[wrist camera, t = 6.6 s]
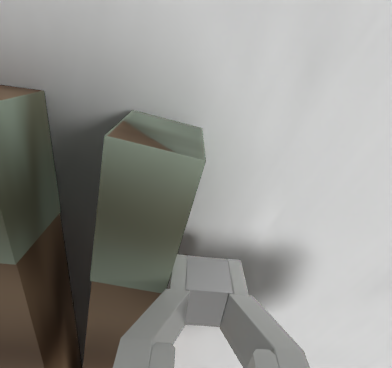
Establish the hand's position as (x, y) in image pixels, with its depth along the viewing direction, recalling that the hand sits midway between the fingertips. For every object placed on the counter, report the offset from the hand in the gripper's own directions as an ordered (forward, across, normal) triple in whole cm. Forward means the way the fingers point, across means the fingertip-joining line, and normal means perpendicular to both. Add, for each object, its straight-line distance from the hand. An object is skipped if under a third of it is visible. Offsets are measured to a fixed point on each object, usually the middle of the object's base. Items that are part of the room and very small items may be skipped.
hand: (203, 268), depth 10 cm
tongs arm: (+2, +3, +5) cm, 6 cm away
